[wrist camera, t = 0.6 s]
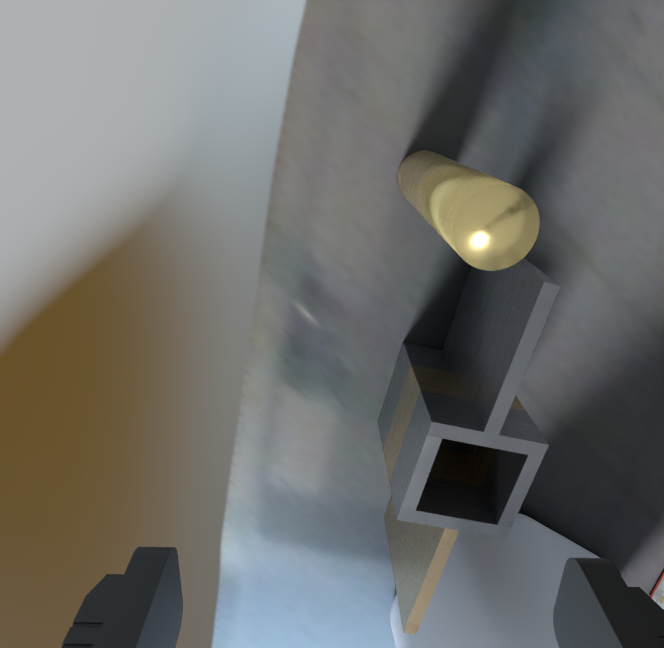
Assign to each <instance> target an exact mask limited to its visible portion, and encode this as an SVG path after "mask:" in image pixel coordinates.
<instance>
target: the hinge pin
mask: <svg viewBox="0 0 664 648" xmlns="http://www.w3.org/2000/svg"><path fill="white" fill-rule="evenodd" d="M397 184H398V188H399V190H400V192H401V193H402V195H403V196H404V197H405V198H406V199H407V200H408V201H409V202H410V203H411V204H412V205H413V206H414V207H415V209H416V210H417V211H418V212H419V213H420V214H421V215H422V216H423V217H424V218H425V219H426V220H427V221H428V222H429V223H430V225H431V226H432V227H433V228H434V229H435V230H436V231H437V232H438V233H439V234H440V235H441V236H442V237H443V238H444V239H445V241H446V242H447V243H448V244H449V245H450V246H451V247H452V248H453V249H454V250H455V251H456V252H457V253H458V254H459V256H460V257H461V258H462V259H463V260H464V261H465V262H467V263H468V264H469V265H471V266H473V267H475V268H478V269H481V270H486V271H495V270H501V269H505V268H508V267H510V266H512V265H514V264H516V263H517V262H519V261H520V260H521V259H523V258H524V257H525V256H526V255H527V254H528V252H529V251H530V250H531V248H532V247H533V245H534V243H535V241H536V239H537V236H538V232H539V226H540V219H539V213H538V209H537V207H536V205H535V203H534V201H533V200H532V198H531V197H530V196H529V195H528V194H527V193H526V192H524V191H523V190H521V189H519V188H518V187H515V186H513V185H511V184H508V183H506V182H503V181H501V180H499V179H496V178H494V177H492V176H489V175H487V174H484V173H482V172H480V171H477V170H475V169H473V168H470V167H468V166H466V165H463V164H461V163H458V162H456V161H454V160H451V159H449V158H447V157H444V156H442V155H439V154H437V153H435V152H432V151H428V150H420V151H416V152H414V153H412V154H410V155H409V156H407V157H406V158H405V159H404V160H403V161H402V163H401V165H400V167H399V169H398V173H397Z"/></svg>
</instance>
